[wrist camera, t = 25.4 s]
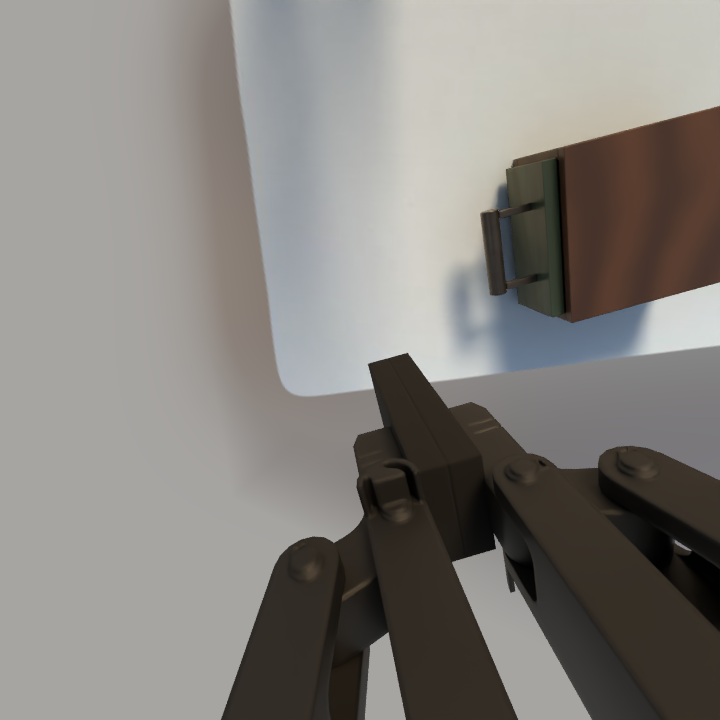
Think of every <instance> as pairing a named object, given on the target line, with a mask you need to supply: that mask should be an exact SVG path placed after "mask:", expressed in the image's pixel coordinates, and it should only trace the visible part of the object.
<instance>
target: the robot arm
mask: <svg viewBox="0 0 720 720" xmlns="http://www.w3.org/2000/svg"><path fill="white" fill-rule="evenodd" d="M368 366H369V370H370V374H371V378H372V382H373V386H374V390H375V393H376V397H377V401H378V405H379V409H380V413H381V417H382V421H383V425H384V428H382V429H378V430H375V431H371V432H367V433H364V434H361V435H358V437H357V439H356V442H355V444H354V446H353V447H354V452H355V457H356V462H357V467H358V472H359V477H358V479H357V491H358V494H359V497H360V500H361V504H362V507H363V510H364V516H363V518H362V520H361V522H360V523H359V525H358V526H357V527H356V528H355V529H354V530H353V531H352V532H351V533H349V534H348V535H346V536H345V537H343V538H342V539H340V540H338V541H337V542H335V543H333V542H332V541H330V540H328V539H326V538H324V537H310V538H306V539H302V540H300V541H298V542H296V543H294V544H293V545H291V546H289V547H288V549H287V550H285V551H284V552H283V553H282V554H281V555H280V557H279V559H278V561H277V563H276V564H275V566H274V569H273V572H272V574H271V577H270V580H269V583H268V586H267V589H266V592H265V595H264V598H263V600H262V604H261V606H260V609H259V612H258V615H257V618H256V621H255V623H254V626H253V629H252V632H251V635H250V638H249V641H248V644H247V647H246V650H245V652H244V655H243V658H242V661H241V664H240V667H239V670H238V672H237V675H236V679H235V681H234V684H233V687H232V690H231V693H230V696H229V698H228V701H227V704H226V707H225V710H224V713H223V716H222V719H221V720H365V707H366V693H367V681H368V668H369V655H370V645H371V644H373V643H374V642H375V641H377V640H378V639H380V638H381V637H382V636H384V635H385V634H386V633H388V632H389V636H390V642H391V647H392V652H393V657H394V662H395V666H396V672H397V677H398V681H399V687H400V691H401V697H402V702H403V707H404V712H405V717H406V720H518V718H517V716H516V714H515V711H514V709H513V706H512V704H511V702H510V699H509V697H508V695H507V692H506V690H505V687H504V685H503V683H502V680H501V678H500V676H499V674H498V671H497V669H496V666H495V664H494V661H493V659H492V657H491V654H490V652H489V650H488V647H487V645H486V643H485V640H484V638H483V635H482V633H481V631H480V628H479V626H478V623H477V621H476V619H475V617H474V614H473V612H472V609H471V607H470V604H469V602H468V600H467V597H466V595H465V593H464V590H463V588H462V586H461V583H460V581H459V578H458V576H457V574H456V571H455V569H454V567H453V564H452V562H453V561H456V560H460V559H463V558H466V557H470V556H473V555H476V554H480V553H483V552H486V551H490V550H494V549H496V546H495V540H494V534H495V536H496V537H497V539H498V541H499V542H500V544H501V546H502V548H503V554H504V561H505V567H506V575H507V582H508V586H509V589H510V592H514V591H515V586H514V582H515V583H516V585H517V587H518V589H519V590H520V592H521V594H522V596H523V597H524V599H525V601H526V603H527V605H528V607H529V608H530V610H531V612H532V614H533V615H534V617H535V619H536V621H537V623H538V624H539V626H540V628H541V629H542V631H543V633H544V635H545V637H546V639H547V640H548V642H549V644H550V646H551V647H552V649H553V651H554V653H555V654H556V656H557V658H558V660H559V661H560V663H561V665H562V667H563V669H564V670H565V672H566V674H567V676H568V678H569V679H570V681H571V683H572V685H573V686H574V688H575V690H576V692H577V693H578V695H579V697H580V698H581V701H582V702H583V704H584V706H585V707H586V710H587V711H588V713H589V715H590V717H591V718H592V720H720V480H718V479H715V478H713V477H711V476H709V475H707V474H705V473H702V472H700V471H698V470H696V469H694V468H692V467H690V466H688V465H685V464H683V463H681V462H679V461H677V460H675V459H672V458H670V457H668V456H666V455H664V454H662V453H659V452H656V451H653V450H651V449H648V448H642V447H635V446H624V447H616V448H613V449H609V450H606V451H605V452H604V453H603V454H602V455H601V456H600V458H599V462H598V468H588V469H559V468H557V467H556V466H555V465H554V464H553V463H552V462H550V461H549V460H547V459H546V458H544V457H541V456H538V455H535V454H528V453H526V452H525V451H524V449H523V448H522V447H521V446H520V445H519V444H518V443H517V442H516V441H515V440H514V439H513V438H512V437H511V436H510V434H509V433H508V432H507V431H506V430H505V429H504V428H503V427H501V425H500V423H499V422H498V421H497V420H496V419H494V417H493V416H492V415H491V414H490V413H489V412H488V411H487V409H486V408H484V407H482V406H479V405H477V404H475V403H472V402H470V403H466V404H463V405H460V406H456V407H452V408H449V409H448V408H447V406H446V405H445V404H444V402H443V401H442V399H441V398H440V397H439V395H438V394H437V393H436V391H435V390H434V389H433V387H432V386H431V385H430V383H429V382H428V380H427V379H426V378H425V376H424V375H423V373H422V372H421V371H420V369H419V368H418V367H417V365H416V364H415V362H414V361H413V360H412V358H411V357H410V356H409V354H408V353H406V354H402V355H398V356H395V357H391V358H388V359H384V360H380V361H377V362H373V363H369V364H368ZM493 532H494V533H493ZM675 540H677V541H678V542H680V543H681V544H683V545H684V546H686V547H687V548H689V549H691V550H692V551H688V550H685V549H683V548H681V547H680V546H678V545H676V544H675Z"/></svg>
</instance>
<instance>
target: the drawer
mask: <svg viewBox="0 0 720 720" xmlns="http://www.w3.org/2000/svg"><path fill="white" fill-rule="evenodd" d="M506 176H507V187H508V197H509V208H507V209H503V210H499V211H498V209H493V210H488V211H484V212H481V213H480V216H481V224H482V232H483V241H484V249H485V257H486V265H487V274H488V282H489V290H490V295H492V296H498V295H502V294H505V293H506V292H507V290H508V289H511V288H515V287H517V293H518V303H519V304H521V305H523V306H526V307H528V308H530V309H533V310H535V311H538V312H540V313H542V314H545V315H547V316H550V317H556V316H559V315H563V314H565V310H564V297H565V278H564V257H563V237H562V217H561V196H560V176H559V165H557V158H552V159H547V160H543V161H539V162H534V163H530V164H526V165H521V166H517V167H513V168H509V169H506ZM508 216H510V219H511V229H512V240H513V250H514V261H515V272H516V279H513V280H510V281H506V280H505V270H504V261H503V251H502V242H501V232H500V222H499V219H501V218H505V217H508ZM506 289H507V290H506Z"/></svg>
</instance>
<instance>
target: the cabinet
mask: <svg viewBox="0 0 720 720" xmlns="http://www.w3.org/2000/svg"><path fill="white" fill-rule="evenodd" d="M552 158H557V165H559V176H560V196H561V217H562V237H563V257H564V278H565V297H564V310H565V314H563V315H559V316H556V317H559V318H561V319H564V320H567V321H568V322H571V323H574V322H577V321H581V320H584V319H588V318H592V317H595V316H599V315H603V314H606V313H610V312H613V311H617V310H621V309H624V308H628V307H632V306H635V305H639V304H643V303H646V302H650V301H653V300H657V299H661V298H664V297H668V296H672V295H675V294H679V293H682V292H686V291H690V290H693V289H697V288H701V287H704V286H708V285H711V284H715V283H719V282H720V106H718V107H714V108H710V109H707V110H703V111H699V112H695V113H691V114H687V115H683V116H680V117H676V118H672V119H668V120H664V121H660V122H656V123H653V124H649V125H645V126H641V127H637V128H633V129H629V130H626V131H622V132H618V133H614V134H610V135H606V136H603V137H599V138H595V139H591V140H587V141H583V142H579V143H576V144H572V145H568V146H564V147H560V148H556V149H553V150H549V151H545V152H541V153H538V154H534V155H530V156H526V157H522V158H519V159H515V160H514V161H513V162H514V167H517V166H521V165H526V164H530V163H534V162H539V161H543V160H547V159H552Z"/></svg>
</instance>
